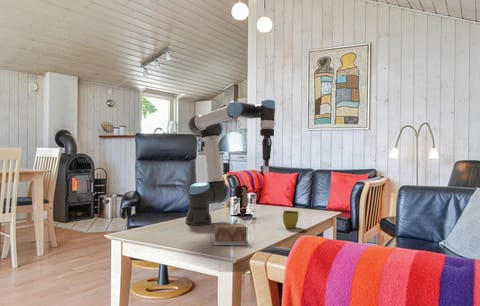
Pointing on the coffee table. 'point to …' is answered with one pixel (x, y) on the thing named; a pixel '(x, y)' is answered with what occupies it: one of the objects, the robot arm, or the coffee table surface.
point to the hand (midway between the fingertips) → (265, 172)
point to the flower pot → (290, 218)
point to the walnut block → (231, 232)
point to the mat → (226, 242)
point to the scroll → (243, 192)
